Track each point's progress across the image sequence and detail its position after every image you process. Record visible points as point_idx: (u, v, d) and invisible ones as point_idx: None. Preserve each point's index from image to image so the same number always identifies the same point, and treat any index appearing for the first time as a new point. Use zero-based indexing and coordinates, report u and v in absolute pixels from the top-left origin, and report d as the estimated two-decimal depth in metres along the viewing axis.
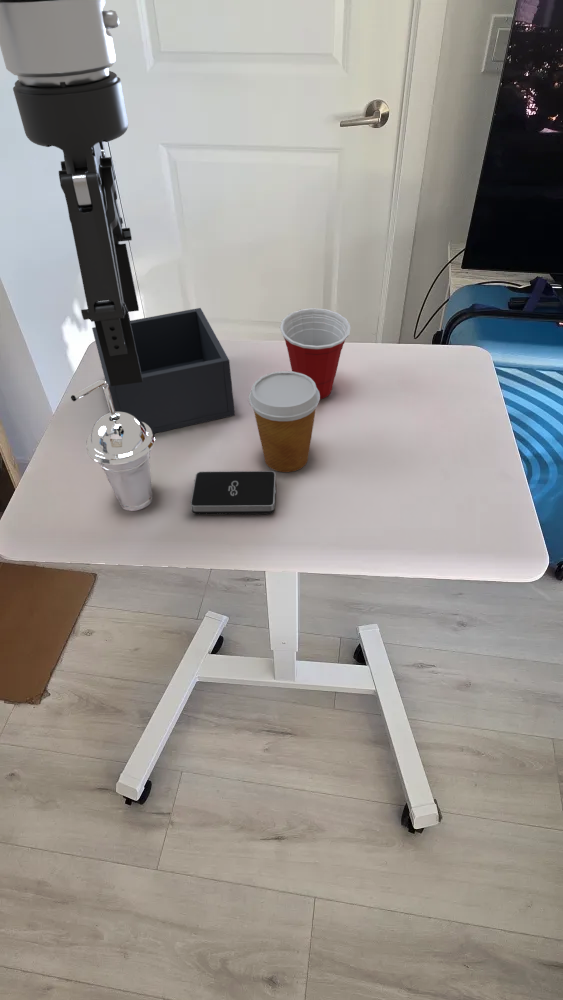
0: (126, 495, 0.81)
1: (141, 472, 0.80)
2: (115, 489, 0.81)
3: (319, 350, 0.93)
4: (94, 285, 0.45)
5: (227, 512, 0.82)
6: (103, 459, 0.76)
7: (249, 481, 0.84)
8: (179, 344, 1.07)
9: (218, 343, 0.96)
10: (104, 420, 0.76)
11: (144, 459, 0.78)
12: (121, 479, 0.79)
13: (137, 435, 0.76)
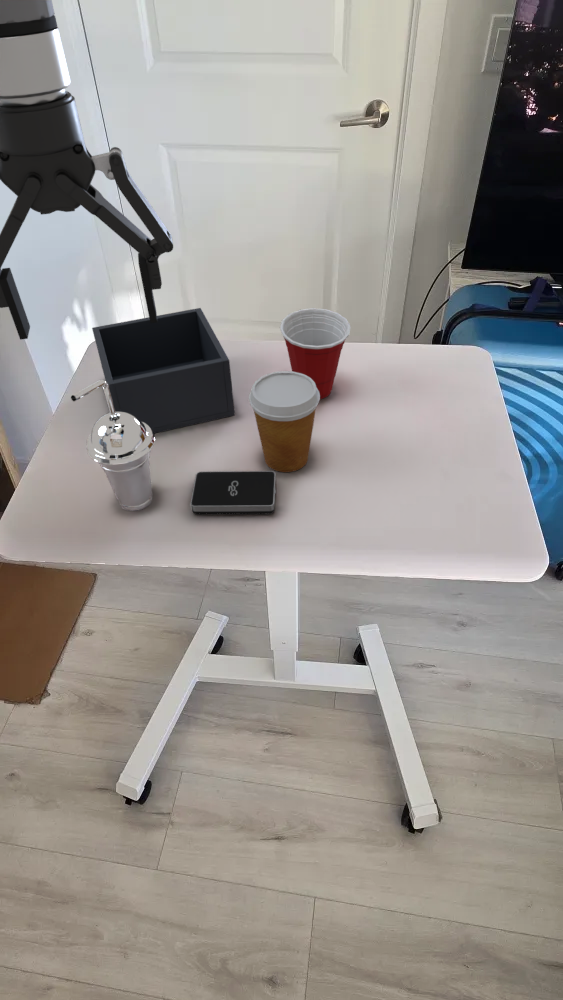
0: (126, 495, 0.81)
1: (141, 472, 0.80)
2: (115, 489, 0.81)
3: (319, 350, 0.93)
4: (160, 224, 0.61)
5: (227, 512, 0.82)
6: (103, 459, 0.76)
7: (249, 481, 0.84)
8: (179, 344, 1.07)
9: (218, 343, 0.96)
10: (104, 420, 0.76)
11: (144, 459, 0.78)
12: (121, 479, 0.79)
13: (137, 435, 0.76)
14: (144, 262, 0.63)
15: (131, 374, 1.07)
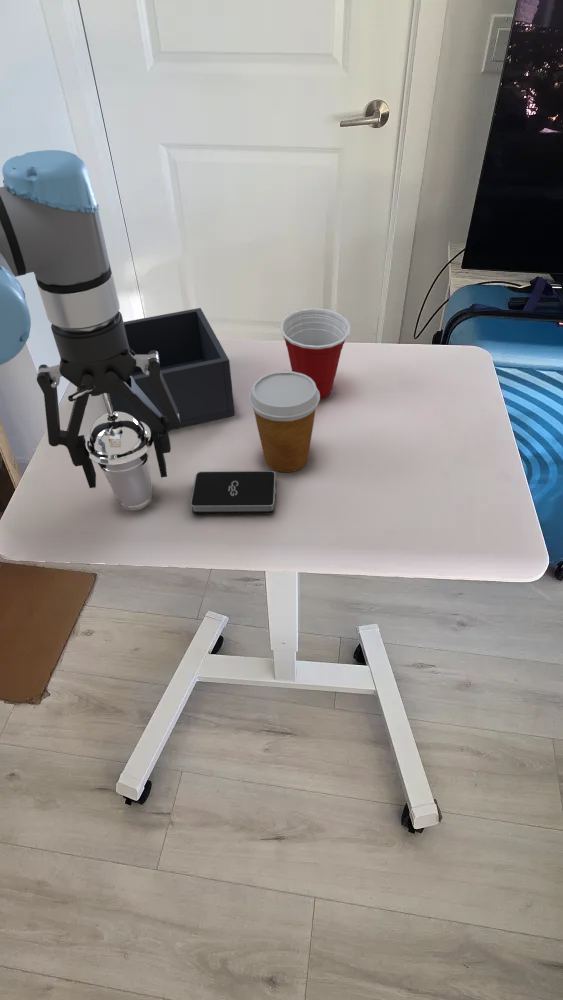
0: (126, 495, 0.81)
1: (140, 472, 0.80)
2: (115, 489, 0.81)
3: (319, 350, 0.93)
4: (174, 408, 0.76)
5: (227, 512, 0.82)
6: (102, 459, 0.76)
7: (249, 481, 0.84)
8: (179, 344, 1.07)
9: (218, 343, 0.96)
10: (102, 420, 0.76)
11: (143, 459, 0.78)
12: (120, 479, 0.79)
13: (135, 435, 0.76)
14: (157, 436, 0.78)
15: (131, 374, 1.07)
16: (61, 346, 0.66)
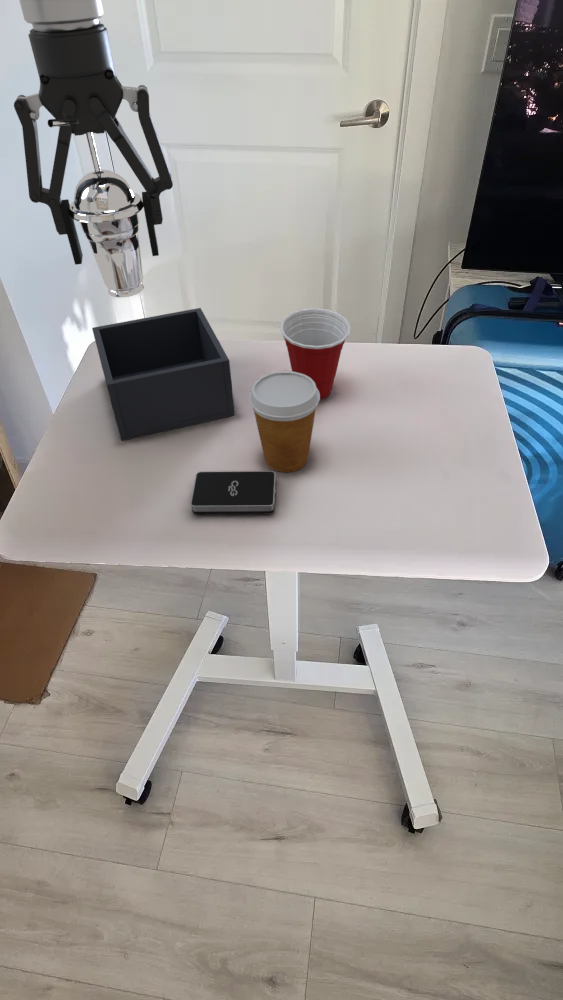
0: (114, 274, 0.75)
1: (129, 243, 0.73)
2: (102, 267, 0.75)
3: (319, 350, 0.93)
4: (166, 163, 0.70)
5: (227, 512, 0.82)
6: (87, 216, 0.69)
7: (249, 481, 0.84)
8: (179, 344, 1.07)
9: (218, 343, 0.96)
10: (87, 175, 0.70)
11: (132, 225, 0.72)
12: (108, 249, 0.73)
13: (123, 192, 0.70)
14: (147, 198, 0.71)
15: (131, 374, 1.07)
16: (39, 53, 0.60)
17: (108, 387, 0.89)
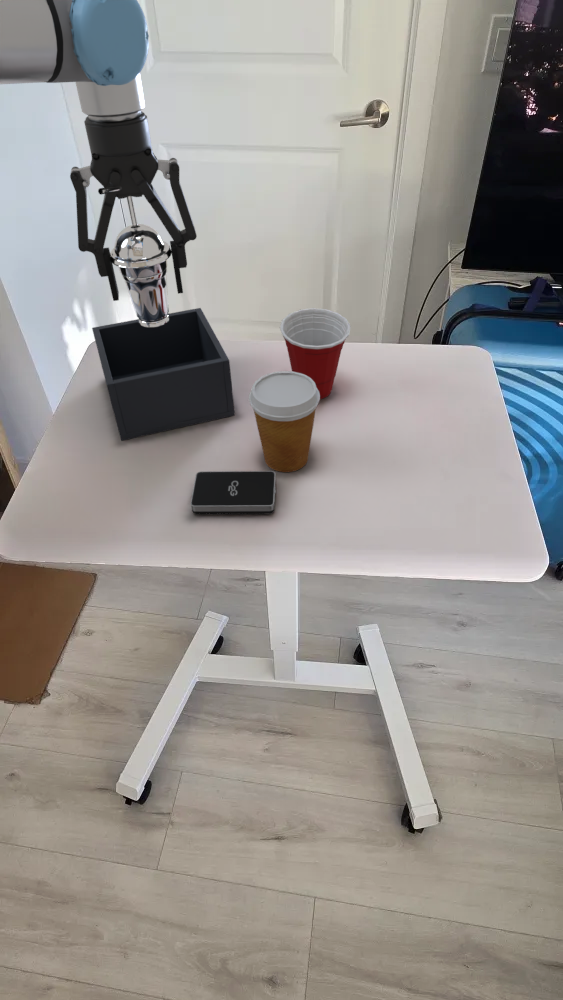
0: (146, 308, 0.90)
1: (159, 283, 0.88)
2: (136, 302, 0.90)
3: (319, 350, 0.93)
4: (191, 219, 0.85)
5: (227, 512, 0.82)
6: (126, 263, 0.84)
7: (249, 481, 0.84)
8: (179, 344, 1.07)
9: (218, 343, 0.96)
10: (126, 228, 0.84)
11: (162, 269, 0.87)
12: (141, 289, 0.87)
13: (156, 242, 0.84)
14: (175, 247, 0.86)
15: (131, 374, 1.07)
16: (94, 137, 0.74)
17: (108, 387, 0.89)
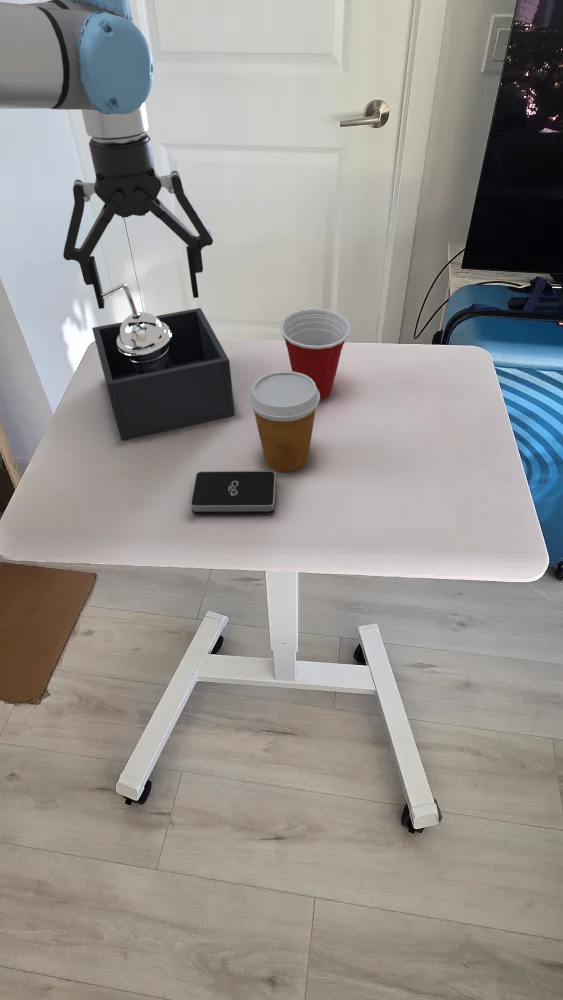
0: None
1: (163, 363, 0.96)
2: None
3: (319, 350, 0.93)
4: (204, 225, 0.86)
5: (227, 512, 0.82)
6: (131, 351, 0.92)
7: (249, 481, 0.84)
8: (179, 344, 1.07)
9: (218, 343, 0.96)
10: (128, 319, 0.92)
11: (164, 351, 0.95)
12: (147, 370, 0.96)
13: (156, 329, 0.92)
14: (191, 252, 0.87)
15: (131, 374, 1.07)
16: (98, 159, 0.76)
17: (108, 387, 0.89)
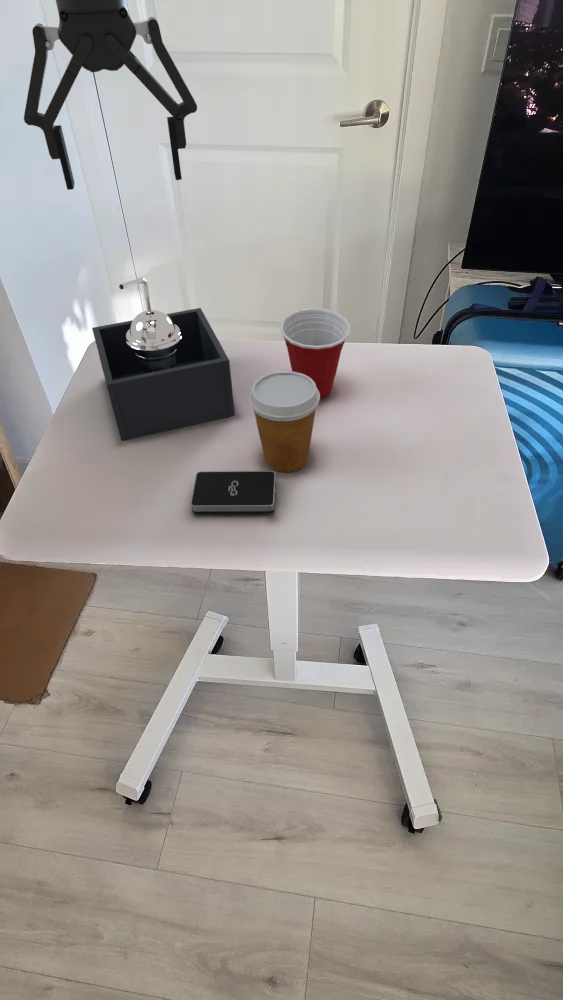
0: None
1: (169, 362, 0.97)
2: None
3: (319, 350, 0.93)
4: None
5: (227, 512, 0.82)
6: (140, 346, 0.93)
7: (249, 481, 0.84)
8: (179, 344, 1.07)
9: (218, 343, 0.96)
10: (141, 314, 0.93)
11: (172, 350, 0.96)
12: (153, 367, 0.96)
13: (168, 328, 0.93)
14: (173, 121, 0.76)
15: (131, 374, 1.07)
16: None
17: (108, 387, 0.89)
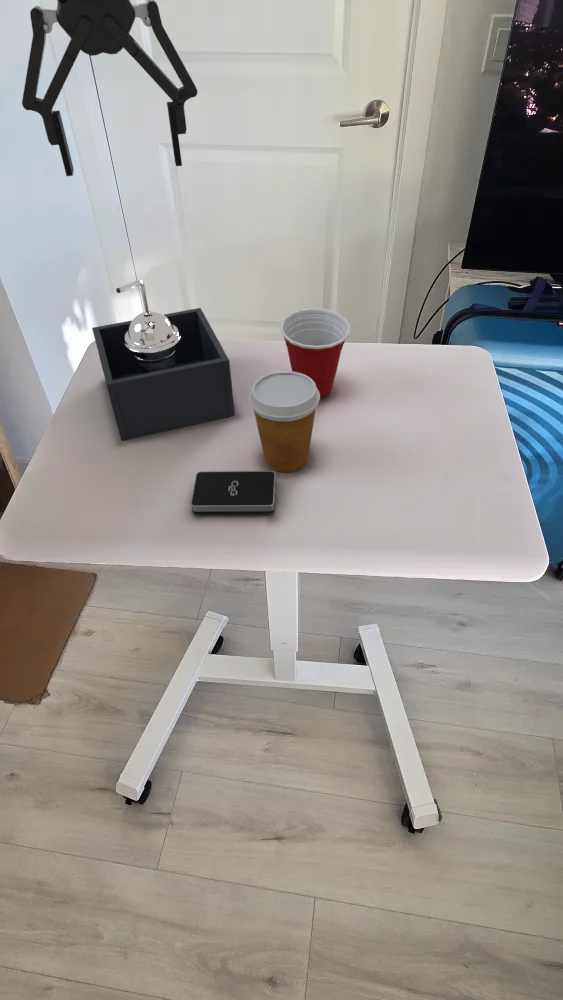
0: None
1: (169, 364, 0.97)
2: None
3: (319, 350, 0.93)
4: None
5: (227, 512, 0.82)
6: (139, 348, 0.93)
7: (249, 481, 0.84)
8: (179, 344, 1.07)
9: (218, 343, 0.96)
10: (139, 316, 0.93)
11: (171, 352, 0.95)
12: (152, 369, 0.96)
13: (166, 329, 0.93)
14: (173, 106, 0.75)
15: (131, 374, 1.07)
16: None
17: (108, 387, 0.89)
